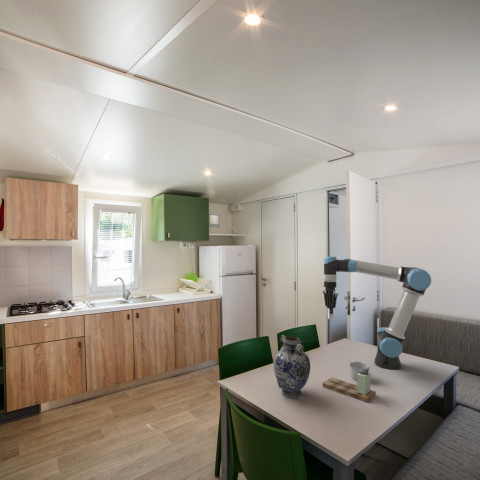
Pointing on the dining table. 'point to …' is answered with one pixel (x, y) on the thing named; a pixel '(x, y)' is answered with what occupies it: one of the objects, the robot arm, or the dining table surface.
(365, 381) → the fader tab
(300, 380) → the decorative vase
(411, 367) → the dining table surface
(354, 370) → the teacup
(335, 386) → the fader track
